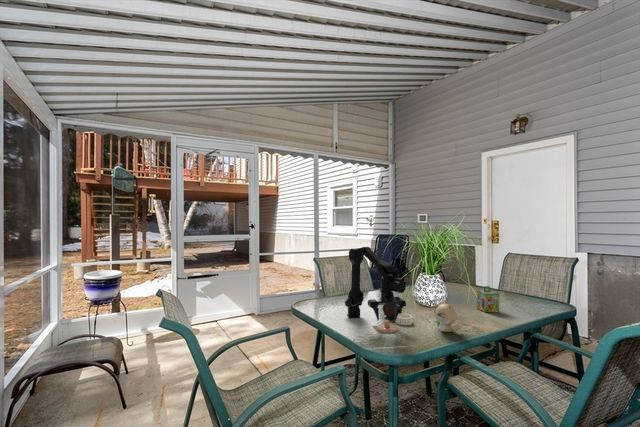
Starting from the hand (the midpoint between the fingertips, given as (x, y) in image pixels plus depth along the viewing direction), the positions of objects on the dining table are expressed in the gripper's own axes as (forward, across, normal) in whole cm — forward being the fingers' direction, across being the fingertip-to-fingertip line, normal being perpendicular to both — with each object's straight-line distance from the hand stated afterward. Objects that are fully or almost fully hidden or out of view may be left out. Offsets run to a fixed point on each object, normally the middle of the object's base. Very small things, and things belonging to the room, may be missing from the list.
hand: (386, 319), depth 159 cm
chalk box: (+6, +74, +23) cm, 78 cm away
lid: (+5, 0, 0) cm, 5 cm away
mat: (+5, 0, 0) cm, 5 cm away
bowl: (+5, +13, +9) cm, 17 cm away
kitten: (+6, +29, -5) cm, 30 cm away
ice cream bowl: (+1, +14, +27) cm, 30 cm away
